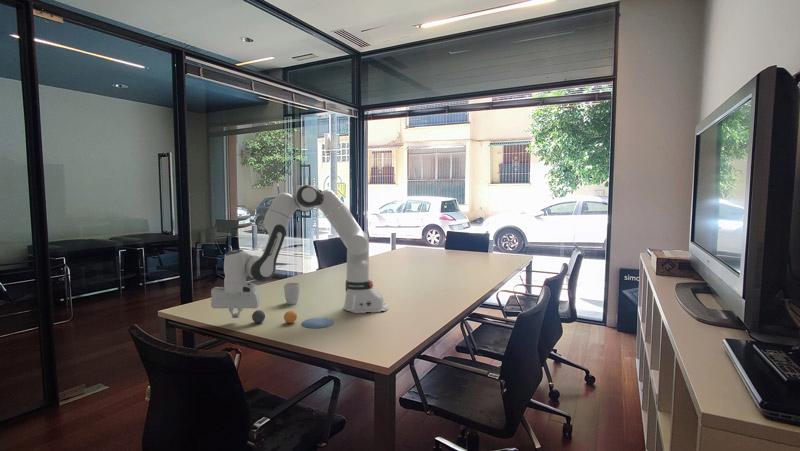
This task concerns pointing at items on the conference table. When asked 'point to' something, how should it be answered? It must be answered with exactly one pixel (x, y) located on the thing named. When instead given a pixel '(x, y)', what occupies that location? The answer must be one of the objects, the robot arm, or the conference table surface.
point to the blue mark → (317, 323)
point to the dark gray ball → (258, 316)
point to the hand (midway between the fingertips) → (235, 317)
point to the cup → (291, 292)
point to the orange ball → (290, 316)
